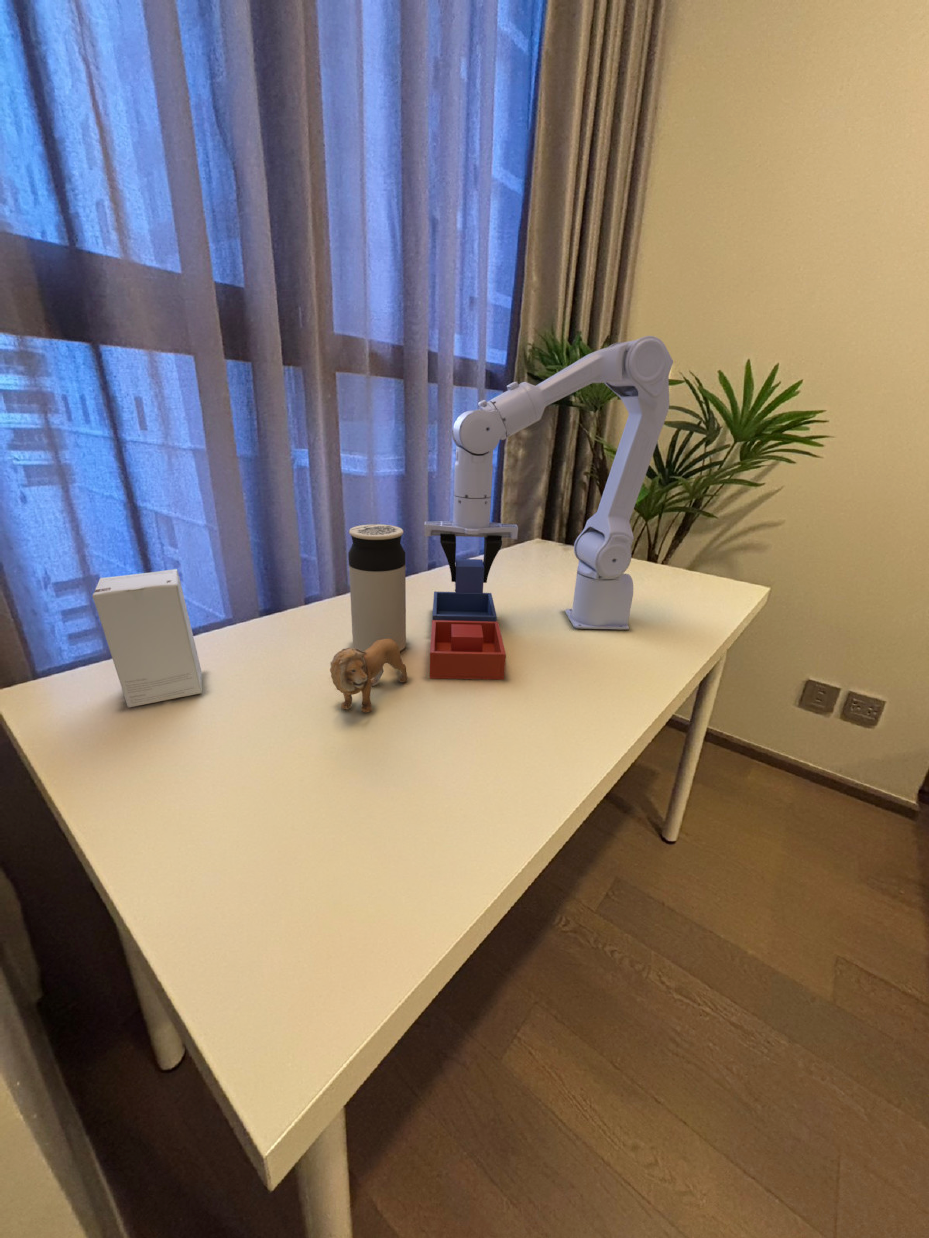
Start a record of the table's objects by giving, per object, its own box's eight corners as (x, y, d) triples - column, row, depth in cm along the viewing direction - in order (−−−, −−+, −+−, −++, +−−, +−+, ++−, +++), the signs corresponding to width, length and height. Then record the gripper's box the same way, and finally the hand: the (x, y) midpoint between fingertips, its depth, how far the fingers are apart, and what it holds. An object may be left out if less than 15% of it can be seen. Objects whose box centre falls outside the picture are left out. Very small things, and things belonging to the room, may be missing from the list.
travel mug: (416, 647, 77) (417, 531, 70) (375, 663, 72) (370, 539, 65) (383, 631, 82) (381, 521, 75) (342, 645, 77) (335, 528, 70)
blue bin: (490, 612, 91) (491, 592, 90) (495, 639, 81) (497, 616, 79) (433, 611, 91) (434, 591, 89) (432, 638, 81) (432, 615, 79)
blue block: (481, 584, 85) (482, 559, 83) (482, 593, 81) (484, 567, 79) (454, 584, 84) (455, 558, 83) (455, 593, 80) (456, 566, 79)
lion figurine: (363, 733, 57) (360, 662, 53) (322, 723, 58) (316, 653, 55) (414, 673, 70) (414, 613, 66) (379, 666, 71) (377, 607, 67)
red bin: (496, 644, 79) (498, 621, 78) (504, 679, 69) (506, 654, 67) (431, 642, 79) (432, 619, 77) (429, 678, 69) (429, 652, 67)
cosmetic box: (202, 674, 67) (182, 567, 61) (202, 696, 62) (180, 582, 56) (128, 686, 64) (99, 574, 58) (122, 710, 59) (90, 591, 53)
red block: (479, 651, 76) (481, 624, 74) (481, 665, 72) (483, 637, 70) (450, 650, 76) (451, 623, 74) (450, 664, 72) (451, 636, 70)
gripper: (423, 498, 73) (422, 587, 78) (523, 501, 73) (516, 589, 79) (425, 490, 79) (424, 573, 84) (517, 494, 80) (510, 575, 85)
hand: (468, 580), depth 82 cm, fingers closed on blue block, 4 cm apart
